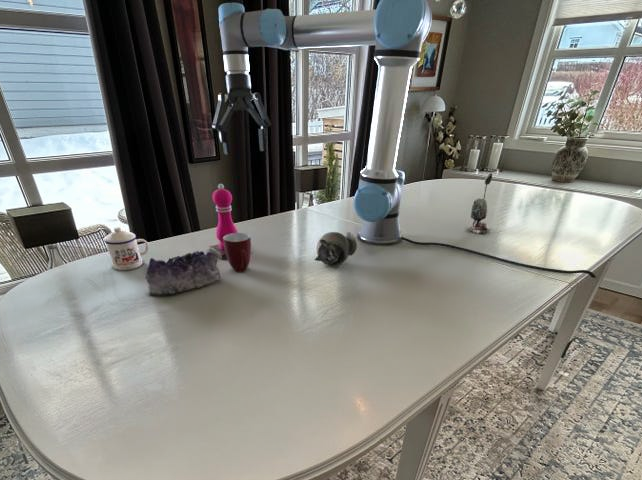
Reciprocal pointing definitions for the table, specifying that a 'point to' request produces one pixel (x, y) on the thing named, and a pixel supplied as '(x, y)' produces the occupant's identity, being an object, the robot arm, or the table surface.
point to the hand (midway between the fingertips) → (245, 152)
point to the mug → (238, 250)
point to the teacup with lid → (124, 249)
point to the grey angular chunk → (218, 251)
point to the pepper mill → (223, 214)
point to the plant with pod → (480, 211)
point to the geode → (182, 273)
